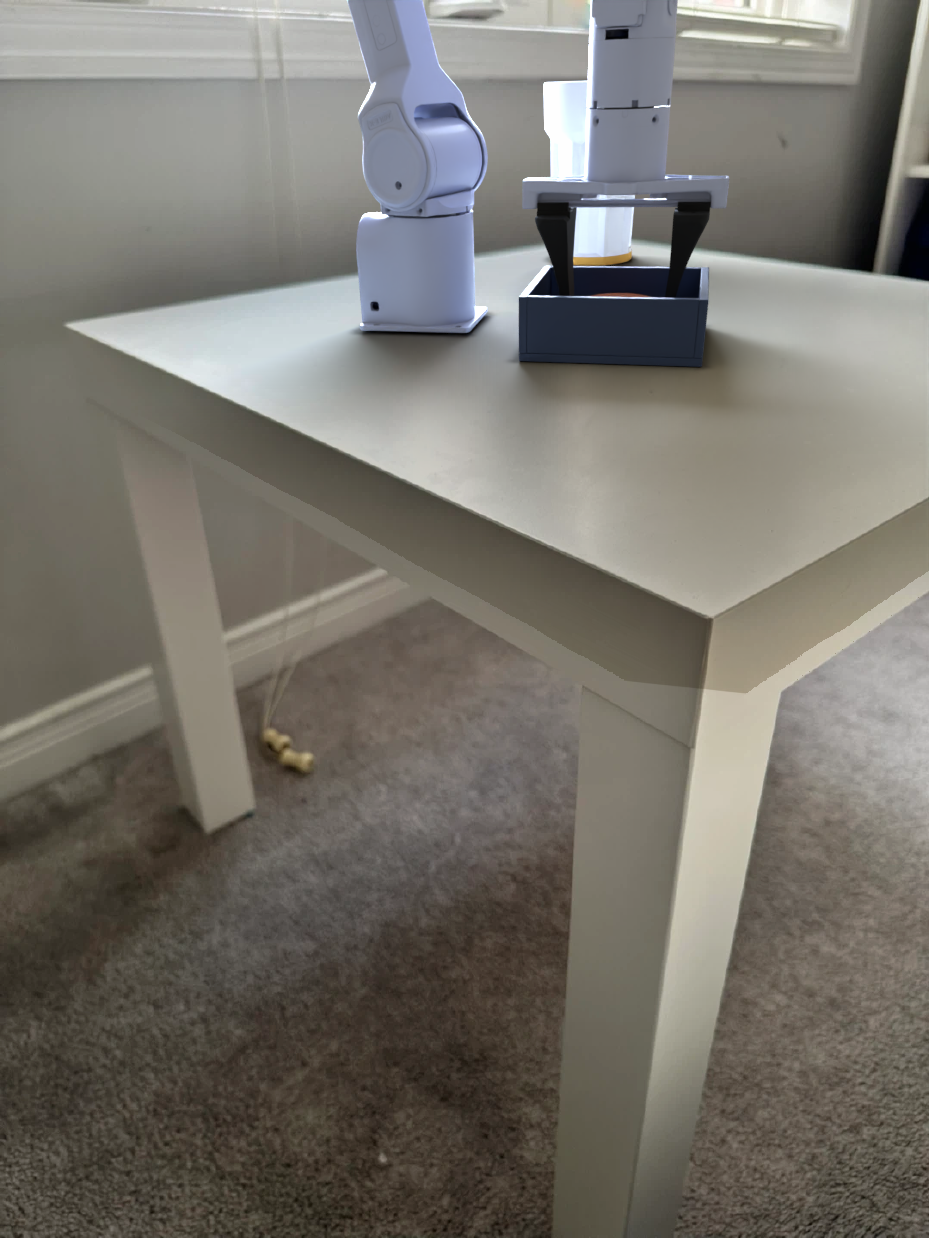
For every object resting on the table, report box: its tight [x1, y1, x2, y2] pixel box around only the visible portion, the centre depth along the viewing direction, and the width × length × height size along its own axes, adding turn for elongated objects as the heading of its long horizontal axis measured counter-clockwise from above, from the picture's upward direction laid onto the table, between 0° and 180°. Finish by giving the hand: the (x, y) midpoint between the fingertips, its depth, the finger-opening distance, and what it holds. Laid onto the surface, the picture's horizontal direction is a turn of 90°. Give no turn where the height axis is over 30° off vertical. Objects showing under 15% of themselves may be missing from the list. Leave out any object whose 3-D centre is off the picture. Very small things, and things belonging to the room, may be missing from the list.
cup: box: [543, 79, 636, 266], centre depth 99 cm, size 11×11×17 cm
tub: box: [518, 265, 710, 368], centre depth 70 cm, size 13×12×5 cm
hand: (617, 310), depth 70 cm, fingers open, 7 cm apart
